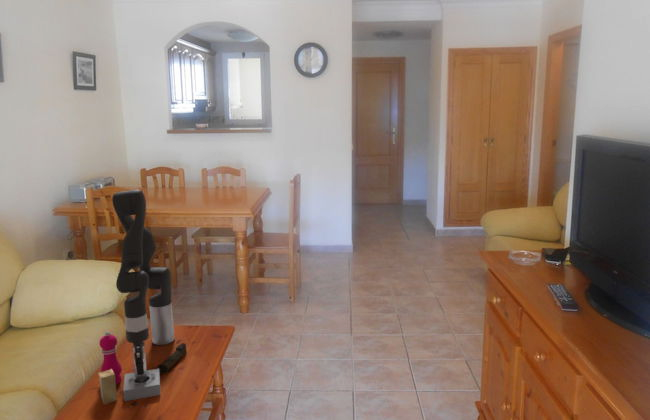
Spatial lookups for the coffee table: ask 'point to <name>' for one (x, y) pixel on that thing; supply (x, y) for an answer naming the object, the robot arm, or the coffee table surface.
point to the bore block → (141, 386)
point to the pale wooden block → (108, 386)
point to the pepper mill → (110, 355)
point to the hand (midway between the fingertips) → (140, 371)
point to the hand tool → (172, 358)
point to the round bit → (144, 377)
